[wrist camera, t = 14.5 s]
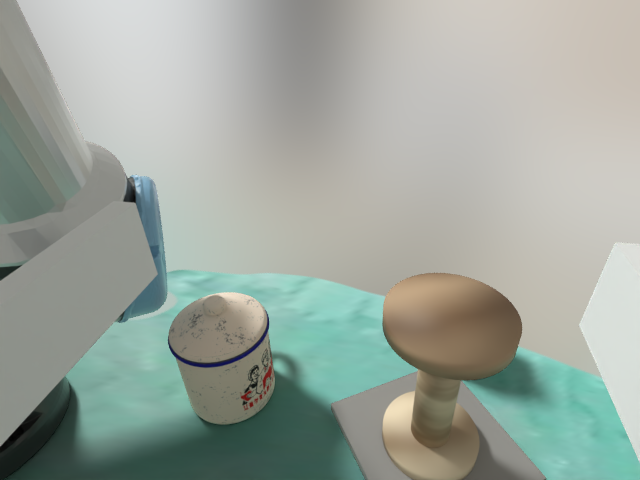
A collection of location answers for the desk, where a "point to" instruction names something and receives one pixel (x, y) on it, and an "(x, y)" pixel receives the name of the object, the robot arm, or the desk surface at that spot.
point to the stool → (443, 368)
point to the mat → (380, 472)
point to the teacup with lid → (224, 356)
